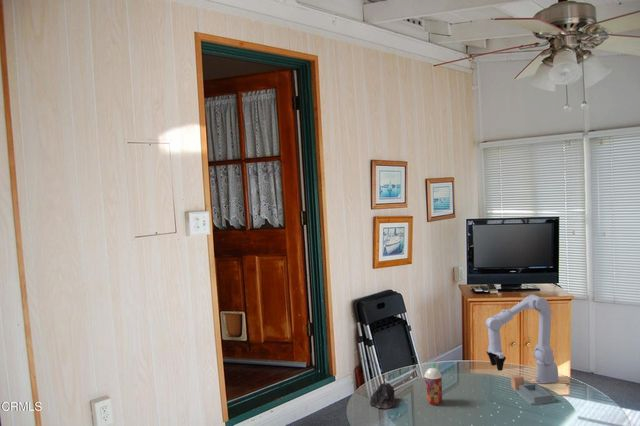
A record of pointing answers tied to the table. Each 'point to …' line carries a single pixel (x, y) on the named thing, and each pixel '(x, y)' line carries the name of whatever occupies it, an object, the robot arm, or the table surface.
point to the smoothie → (433, 385)
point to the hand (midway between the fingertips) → (496, 367)
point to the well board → (534, 394)
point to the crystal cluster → (383, 396)
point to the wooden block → (516, 381)
